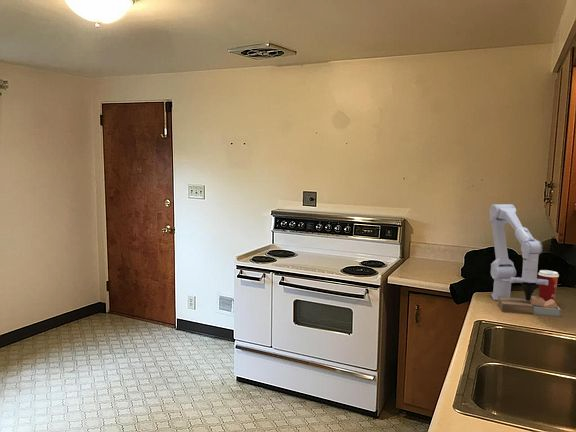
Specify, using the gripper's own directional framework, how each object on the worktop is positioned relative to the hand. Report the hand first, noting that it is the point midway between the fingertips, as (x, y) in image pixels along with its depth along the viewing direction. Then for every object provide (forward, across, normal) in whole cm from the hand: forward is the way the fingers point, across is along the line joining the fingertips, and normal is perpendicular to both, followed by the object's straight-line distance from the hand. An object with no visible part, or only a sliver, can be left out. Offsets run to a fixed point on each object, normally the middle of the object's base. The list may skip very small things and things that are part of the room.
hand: (527, 299), depth 210 cm
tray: (+4, +6, 0) cm, 8 cm away
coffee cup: (+5, +10, +12) cm, 16 cm away
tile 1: (+1, +3, 0) cm, 4 cm away
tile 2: (+1, +8, 0) cm, 8 cm away
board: (+4, -5, 0) cm, 7 cm away
